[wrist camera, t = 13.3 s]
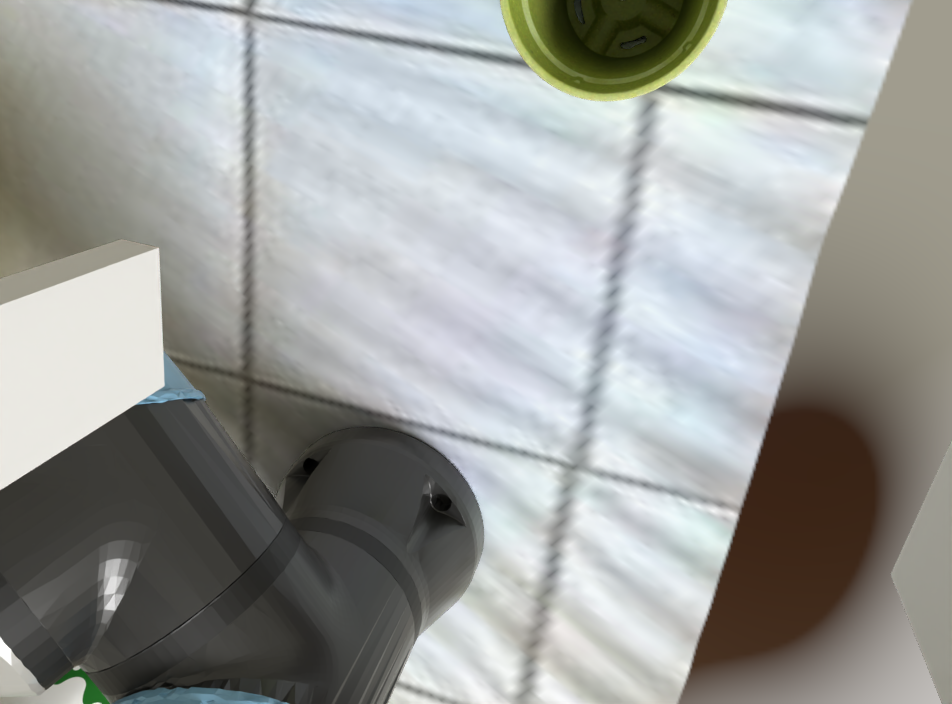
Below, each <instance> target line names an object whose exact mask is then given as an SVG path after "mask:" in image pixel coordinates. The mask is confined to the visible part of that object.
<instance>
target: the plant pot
mask: <svg viewBox="0 0 952 704" xmlns="http://www.w3.org/2000/svg"><path fill="white" fill-rule="evenodd" d="M574 1H575V0H500V5H501V11H502V15H503V19H504V22H505V25H506V28H507V31H508V33H509V36H510V38H511V40H512V42H513V44H514V46H515V48H516V49H517V51H518V52H519V54H520V55H521V57H522V58H523V59H524V61H525V62H526V63H527V64H528V66H529V67H530V68H531V69H532V70H533V71H534V72H535V73H536V74H537V75H538V76H539V77H540V78H542V79H543V80H544V81H546V82H547V83H548V84H550V85H551V86H553V87H555V88H557V89H558V90H560V91H562V92H565V93H567V94H569V95H572V96H575V97H579V98H582V99H587V100H593V101H618V100H625V99H630V98H634V97H637V96H641V95H643V94H646V93H649V92H651V91H653V90H655V89H657V88H659V87H661V86H663V85H665V84H666V83H668V82H670V81H671V80H672V79H674V78H675V77H677V76H678V75H679V74H681V73H682V72H683V71H684V70H685V69H686V68H687V67H688V66H689V65H690V64H691V63H692V62H693V61H694V60H695V59H696V58H697V57H698V56H699V54H700V53H701V52H702V51H703V49H704V48H705V47H706V45H707V44H708V42H709V41H710V39H711V38H712V36H713V34H714V33H715V31H716V29H717V27H718V25H719V23H720V21H721V18H722V16H723V13H724V11H725V8H726V5H727V1H728V0H581V6H582V12H583V16H584V18H583V19H584V20H585V23H584V24H583V23H581V22H580V21H579V19H578V17H577V15H576V12H575V7H574ZM642 36H645V37H647V39H646V41H645V43H642V44H639V45H636V46H634V47H633V48H631V49H622V48H621V46H620V45H621V43H622V42H628V41H633V40H636V39H638V38H641V37H642Z"/></svg>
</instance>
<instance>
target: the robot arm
mask: <svg viewBox="0 0 952 704" xmlns="http://www.w3.org/2000/svg"><path fill="white" fill-rule="evenodd" d="M205 400H206V397H205V396H204V394H203V393H202V392H201V391H200V390H196V389H195V388H194V387H193V386H192V384H191V383H190V382H189V381H188V380H187V378H186V377H185V376H184V375H183V374H182V372H181V371H180V370H179V369H178V367H177V366H176V365H175V364H174V363H173V361H172V360H171V359H170V358H169V356H168V355H167V354H166V353H165V351H164V350H163V333H162V308H161V282H160V257H159V247H155V246H150V245H146V244H141V243H137V242H132V241H128V240H123V239H120V240H117V241H114V242H111V243H108V244H105V245H102V246H99V247H95V248H92V249H89V250H86V251H83V252H80V253H77V254H74V255H71V256H68V257H65V258H62V259H58V260H55V261H52V262H49V263H46V264H43V265H40V266H37V267H34V268H31V269H28V270H25V271H22V272H18V273H15V274H12V275H9V276H6V277H3V278H0V697H25V696H40V695H41V694H42V693H43V692H45V691H46V690H47V689H48V688H50V687H51V686H52V685H53V684H55V683H56V682H57V681H58V680H59V679H61V678H62V677H63V676H64V675H65V674H67V673H68V672H69V671H70V670H72V669H73V668H74V667H76V666H78V665H79V666H80V668H81V669H82V670H83V671H84V672H85V673H86V674H87V675H88V676H89V678H90V679H91V680H92V681H93V683H94V684H95V685H96V686H97V687H98V689H99V690H100V691H101V692H102V694H103V695H104V696H105V697H106V699H107V700H108V701H109V703H110V704H388V702H389V699H390V697H391V695H392V693H393V690H394V688H395V686H396V684H397V681H398V679H399V677H400V675H401V673H402V670H403V668H404V666H405V664H406V662H407V659H408V657H409V655H410V652H411V650H412V648H413V646H414V644H415V641H416V639H417V637H418V636H419V635H420V634H422V633H423V632H424V631H425V630H426V629H427V628H428V627H429V626H431V625H432V624H433V623H434V622H435V621H436V620H437V619H438V618H440V617H441V616H442V615H443V614H444V613H445V612H446V611H447V610H448V609H450V608H451V607H452V606H453V605H454V604H455V603H456V602H457V601H458V600H459V599H460V598H461V596H462V595H463V594H464V592H465V591H466V589H467V588H468V586H469V584H470V582H471V580H472V578H473V575H474V573H475V571H476V568H477V566H478V563H479V561H480V558H481V555H482V551H483V544H484V527H483V520H482V515H481V512H480V509H479V506H478V503H477V501H476V498H475V496H474V494H473V492H472V491H471V489H470V487H469V485H468V484H467V482H466V481H465V479H464V478H463V477H462V476H461V474H460V473H459V472H458V471H457V470H456V468H455V467H454V466H453V465H452V464H451V463H450V462H449V461H447V460H446V459H445V458H444V457H443V456H442V455H440V454H439V453H438V452H437V451H435V450H434V449H432V448H431V447H429V446H428V445H426V444H424V443H423V442H421V441H419V440H417V439H415V438H412V437H410V436H408V435H405V434H402V433H399V432H396V431H392V430H388V429H383V428H375V427H356V428H348V429H344V430H340V431H337V432H334V433H331V434H329V435H327V436H325V437H323V438H321V439H320V440H318V441H317V442H315V443H314V444H313V445H312V446H311V447H309V448H308V449H307V450H306V451H305V452H304V454H303V455H302V456H301V457H300V458H299V459H298V460H297V461H296V462H295V463H294V464H293V465H292V467H291V468H290V469H289V471H288V472H287V474H286V476H285V477H284V479H283V481H282V483H281V485H280V488H279V491H278V494H277V497H276V500H275V499H274V497H273V496H272V494H271V493H270V492H269V490H268V489H267V488H266V486H265V485H264V483H263V482H262V481H261V479H260V478H259V477H258V475H257V474H256V472H255V471H254V470H253V468H252V467H251V466H250V464H249V463H248V461H247V460H246V459H245V457H244V456H243V455H242V453H241V452H240V450H239V449H238V448H237V446H236V445H235V444H234V442H233V441H232V439H231V438H230V437H229V435H228V434H227V433H226V431H225V430H224V428H223V427H222V426H221V424H220V423H219V421H218V420H217V419H216V417H215V416H214V414H213V413H212V411H211V410H210V409H209V407H208V406H207V404H206V403H205ZM891 577H892V579H893V582H894V584H895V587H896V590H897V592H898V594H899V597H900V599H901V602H902V605H903V607H904V610H905V612H906V615H907V617H908V620H909V622H910V625H911V627H912V630H913V632H914V635H915V637H916V640H917V642H918V645H919V647H920V650H921V652H922V655H923V657H924V660H925V662H926V665H927V668H928V670H929V673H930V675H931V678H932V680H933V683H934V684H935V688H936V690H937V693H938V695H939V698H940V700H941V703H942V704H952V440H951V443H950V445H949V447H948V450H947V452H946V454H945V456H944V458H943V460H942V463H941V465H940V467H939V469H938V471H937V474H936V476H935V478H934V480H933V482H932V485H931V487H930V489H929V491H928V494H927V496H926V498H925V500H924V502H923V504H922V507H921V509H920V511H919V513H918V516H917V518H916V520H915V522H914V524H913V527H912V529H911V531H910V533H909V535H908V537H907V540H906V542H905V544H904V546H903V548H902V551H901V553H900V555H899V557H898V559H897V562H896V564H895V566H894V568H893V570H892V573H891Z"/></svg>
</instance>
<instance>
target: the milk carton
mask: <svg viewBox="0 0 952 704" xmlns="http://www.w3.org/2000/svg"><path fill="white" fill-rule="evenodd" d="M0 704H110V703H109V701H108V700H107V699H106V697H105V696H104V695H103V694H102V692H101V691H100V690H99V689H98V687H97V686H96V685H95V684H94V683H93V681H92V680H91V679H90V678H89V676H88V675H87V674H86V673H85V672H84V671H83V670H82V669H81V668H80V666H79V665H78V666H76V667H74V668H73V669H72V670H70V671H69V672H68V673H67V674H65V675H64V676H63V677H62V678H61V679H59V680H58V681H57V682H56V683H55V684H53V685H52V686H51V687H50V688H48V689H47V690H46V691H45V692H43V693H42V694H41V695H40V696H25V697H0Z"/></svg>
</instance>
